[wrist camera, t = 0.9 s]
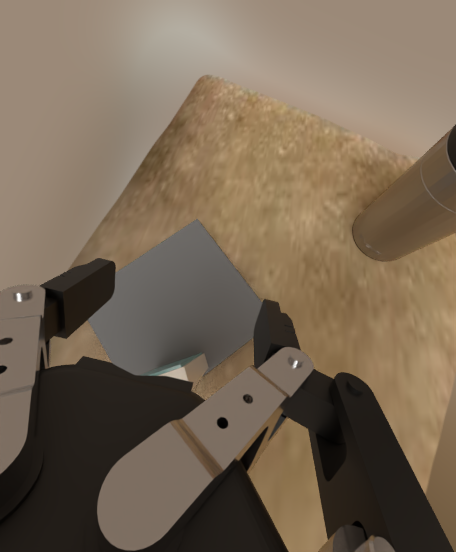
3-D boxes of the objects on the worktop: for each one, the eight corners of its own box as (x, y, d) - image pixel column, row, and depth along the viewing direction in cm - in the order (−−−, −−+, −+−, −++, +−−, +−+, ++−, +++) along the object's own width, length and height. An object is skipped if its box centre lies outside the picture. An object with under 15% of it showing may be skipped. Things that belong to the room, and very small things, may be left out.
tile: (208, 367, 32) (191, 391, 19) (159, 384, 32) (105, 422, 18) (203, 351, 33) (183, 363, 19) (155, 367, 32) (99, 392, 19)
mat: (198, 222, 39) (197, 218, 38) (274, 320, 35) (275, 320, 34) (80, 300, 36) (75, 299, 35) (148, 417, 32) (145, 420, 31)
